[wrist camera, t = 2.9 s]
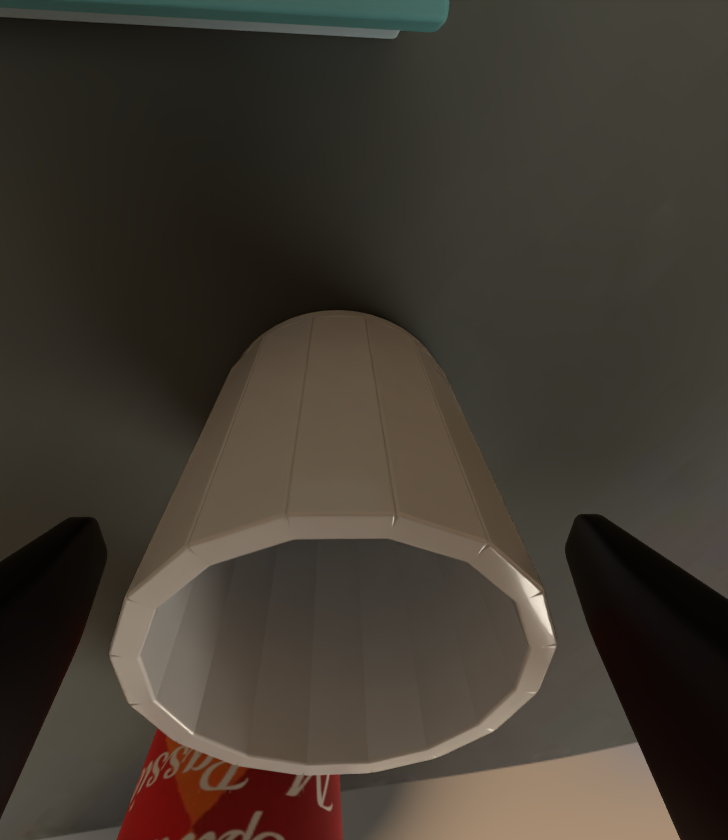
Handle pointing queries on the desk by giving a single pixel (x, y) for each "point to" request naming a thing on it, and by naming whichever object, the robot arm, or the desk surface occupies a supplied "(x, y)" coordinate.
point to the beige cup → (333, 567)
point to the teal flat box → (248, 14)
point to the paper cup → (227, 800)
